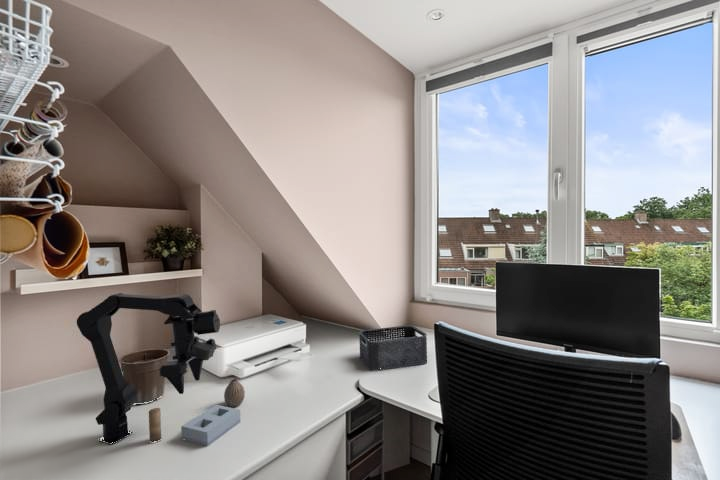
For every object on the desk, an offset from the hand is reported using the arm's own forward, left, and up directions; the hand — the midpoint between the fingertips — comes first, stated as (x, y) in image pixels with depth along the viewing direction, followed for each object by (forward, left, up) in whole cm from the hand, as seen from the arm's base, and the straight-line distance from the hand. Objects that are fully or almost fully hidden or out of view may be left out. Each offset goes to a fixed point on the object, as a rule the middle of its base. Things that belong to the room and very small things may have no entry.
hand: (189, 386), depth 111 cm
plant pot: (-35, +12, -15) cm, 40 cm away
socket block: (+5, +3, -14) cm, 16 cm away
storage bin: (+41, +80, -15) cm, 91 cm away
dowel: (-7, -7, -14) cm, 17 cm away
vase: (0, +19, -15) cm, 24 cm away
